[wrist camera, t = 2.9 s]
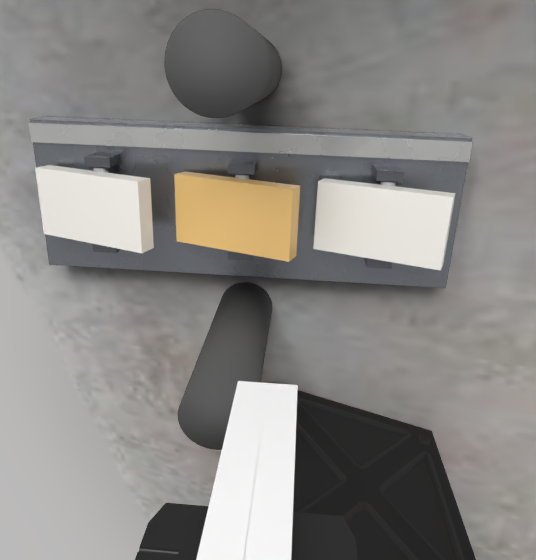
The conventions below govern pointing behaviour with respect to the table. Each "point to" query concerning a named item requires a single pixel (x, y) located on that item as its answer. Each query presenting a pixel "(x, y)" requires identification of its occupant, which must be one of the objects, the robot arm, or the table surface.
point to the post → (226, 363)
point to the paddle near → (383, 222)
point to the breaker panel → (260, 166)
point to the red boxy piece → (376, 482)
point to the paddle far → (96, 207)
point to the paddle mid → (237, 214)
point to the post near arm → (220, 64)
